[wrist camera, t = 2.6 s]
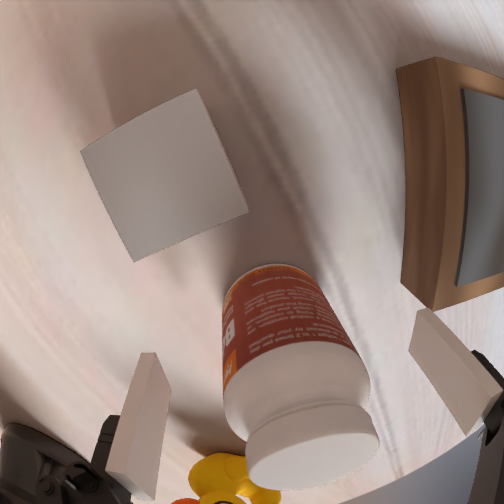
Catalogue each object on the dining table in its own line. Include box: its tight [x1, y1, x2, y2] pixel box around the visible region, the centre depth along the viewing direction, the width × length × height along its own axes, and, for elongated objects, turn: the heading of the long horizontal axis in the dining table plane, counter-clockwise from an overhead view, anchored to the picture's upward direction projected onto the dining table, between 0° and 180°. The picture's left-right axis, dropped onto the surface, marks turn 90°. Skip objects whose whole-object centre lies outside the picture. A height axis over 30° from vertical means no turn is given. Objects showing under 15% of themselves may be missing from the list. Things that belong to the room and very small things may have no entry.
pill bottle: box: [222, 263, 380, 491], centre depth 13 cm, size 6×6×11 cm
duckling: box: [172, 453, 281, 504], centre depth 20 cm, size 11×5×10 cm, turn 60°
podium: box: [396, 57, 504, 312], centre depth 14 cm, size 14×14×4 cm
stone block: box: [80, 88, 249, 262], centre depth 12 cm, size 5×5×5 cm
